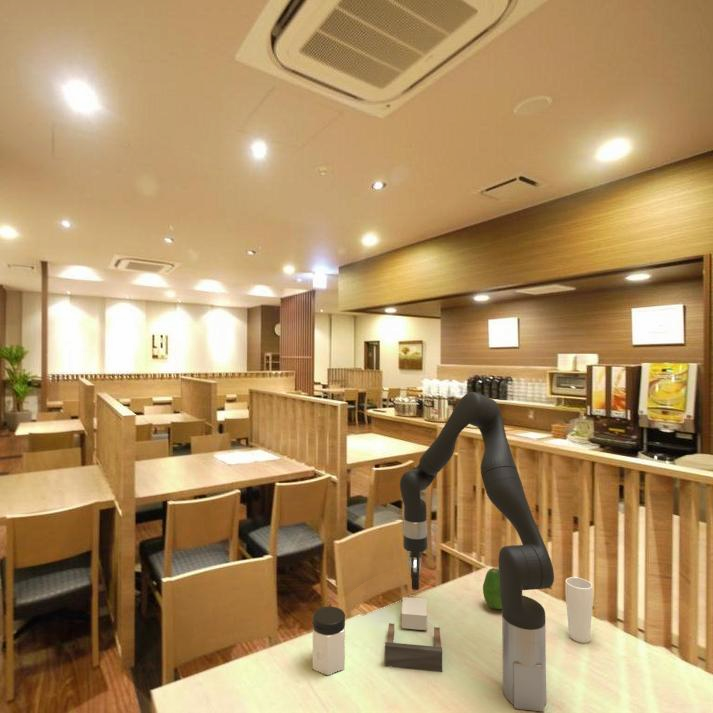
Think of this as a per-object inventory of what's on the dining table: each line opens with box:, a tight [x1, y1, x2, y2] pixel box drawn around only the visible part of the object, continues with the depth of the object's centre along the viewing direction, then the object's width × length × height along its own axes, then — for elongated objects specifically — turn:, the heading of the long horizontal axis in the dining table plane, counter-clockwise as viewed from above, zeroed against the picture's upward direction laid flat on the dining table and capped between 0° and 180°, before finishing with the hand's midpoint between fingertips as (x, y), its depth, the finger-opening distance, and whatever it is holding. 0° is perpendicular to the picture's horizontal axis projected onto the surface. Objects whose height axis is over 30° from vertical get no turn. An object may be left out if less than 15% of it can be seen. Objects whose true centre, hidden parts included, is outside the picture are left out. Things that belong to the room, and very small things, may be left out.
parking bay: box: [384, 623, 443, 673], centre depth 114 cm, size 14×14×5 cm
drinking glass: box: [564, 576, 594, 644], centre depth 120 cm, size 7×7×15 cm
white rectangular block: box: [401, 596, 428, 631], centre depth 127 cm, size 9×7×5 cm
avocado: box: [482, 567, 502, 610], centre depth 134 cm, size 8×8×12 cm
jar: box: [312, 606, 346, 676], centre depth 109 cm, size 9×8×12 cm
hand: (415, 588), depth 137 cm, fingers closed
